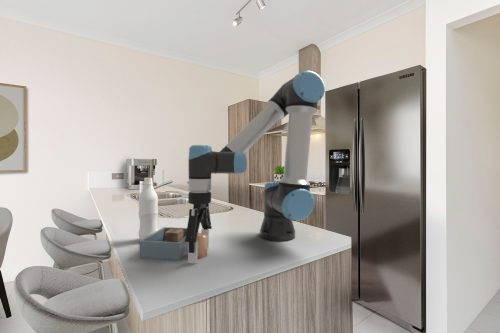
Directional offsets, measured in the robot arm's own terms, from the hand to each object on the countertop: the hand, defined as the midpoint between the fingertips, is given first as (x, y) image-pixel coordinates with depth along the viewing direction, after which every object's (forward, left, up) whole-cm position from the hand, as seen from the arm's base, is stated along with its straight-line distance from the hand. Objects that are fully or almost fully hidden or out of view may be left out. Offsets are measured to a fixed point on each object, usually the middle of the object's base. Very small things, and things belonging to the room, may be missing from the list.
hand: (199, 254), depth 85 cm
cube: (+12, -8, 0) cm, 15 cm away
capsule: (0, 0, 0) cm, 0 cm away
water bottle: (+25, -13, -1) cm, 28 cm away
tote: (+12, -4, 0) cm, 13 cm away
